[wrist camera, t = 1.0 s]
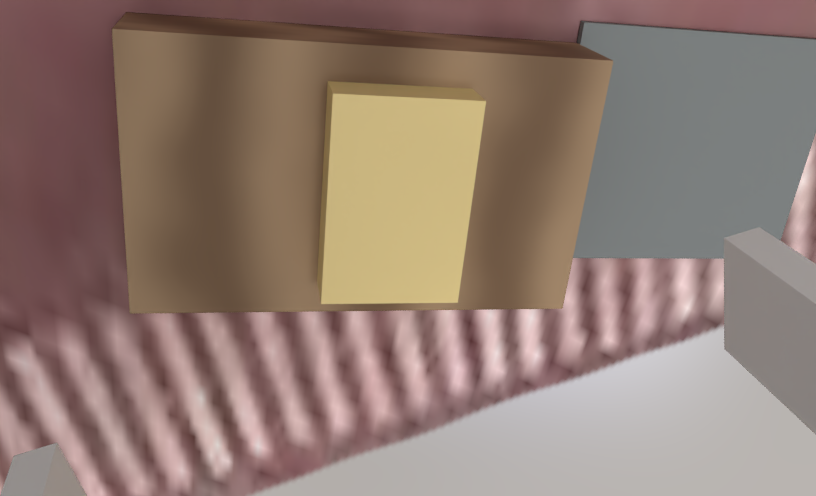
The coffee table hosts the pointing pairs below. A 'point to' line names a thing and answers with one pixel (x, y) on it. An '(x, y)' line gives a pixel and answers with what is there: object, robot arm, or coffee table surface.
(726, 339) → the robot arm
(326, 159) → the yellow rectangular block
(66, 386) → the coffee table surface
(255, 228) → the deck
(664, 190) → the mat
